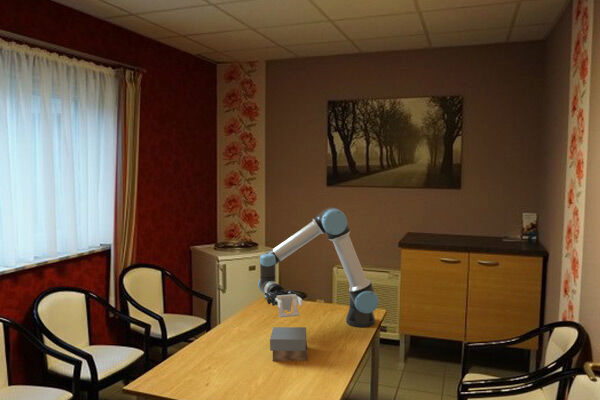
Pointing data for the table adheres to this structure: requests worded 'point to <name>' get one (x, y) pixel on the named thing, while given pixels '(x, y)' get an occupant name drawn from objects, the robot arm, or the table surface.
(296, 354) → the tower bottom block
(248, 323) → the table surface
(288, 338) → the tower top block
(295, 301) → the portable electronic device stand
